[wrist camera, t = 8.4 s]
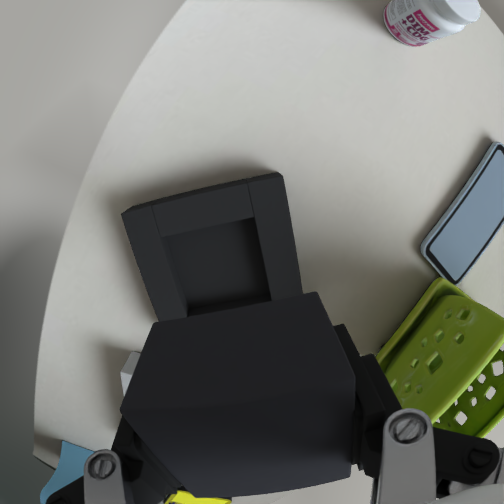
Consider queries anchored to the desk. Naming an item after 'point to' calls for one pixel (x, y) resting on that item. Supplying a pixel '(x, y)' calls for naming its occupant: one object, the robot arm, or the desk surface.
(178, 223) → the base pad
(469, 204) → the smartphone
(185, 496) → the game console
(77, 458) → the vase
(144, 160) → the desk surface
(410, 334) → the flower pot
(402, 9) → the pill bottle
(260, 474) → the dark grey square block
